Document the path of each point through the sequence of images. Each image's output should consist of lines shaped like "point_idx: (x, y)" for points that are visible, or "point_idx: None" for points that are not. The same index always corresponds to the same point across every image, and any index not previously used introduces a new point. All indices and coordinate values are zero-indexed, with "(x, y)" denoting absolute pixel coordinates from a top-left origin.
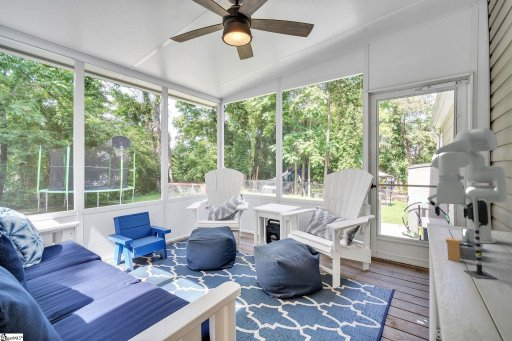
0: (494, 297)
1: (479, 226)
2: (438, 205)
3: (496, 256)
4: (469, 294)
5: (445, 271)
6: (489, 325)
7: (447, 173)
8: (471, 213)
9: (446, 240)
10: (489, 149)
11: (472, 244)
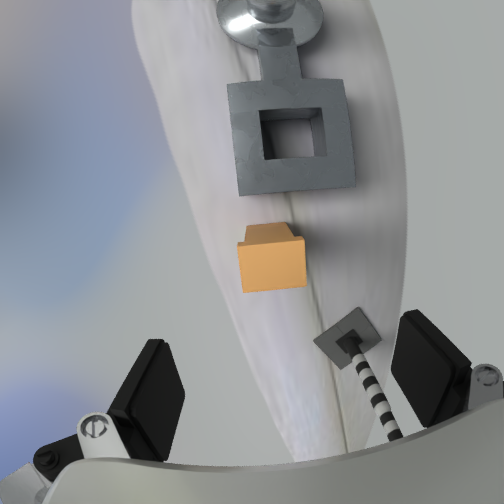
0: (361, 420)
1: None
2: (124, 444)
3: (366, 74)
4: (328, 434)
5: (274, 372)
6: None
7: None
8: None
9: (247, 291)
10: None
11: (315, 91)
